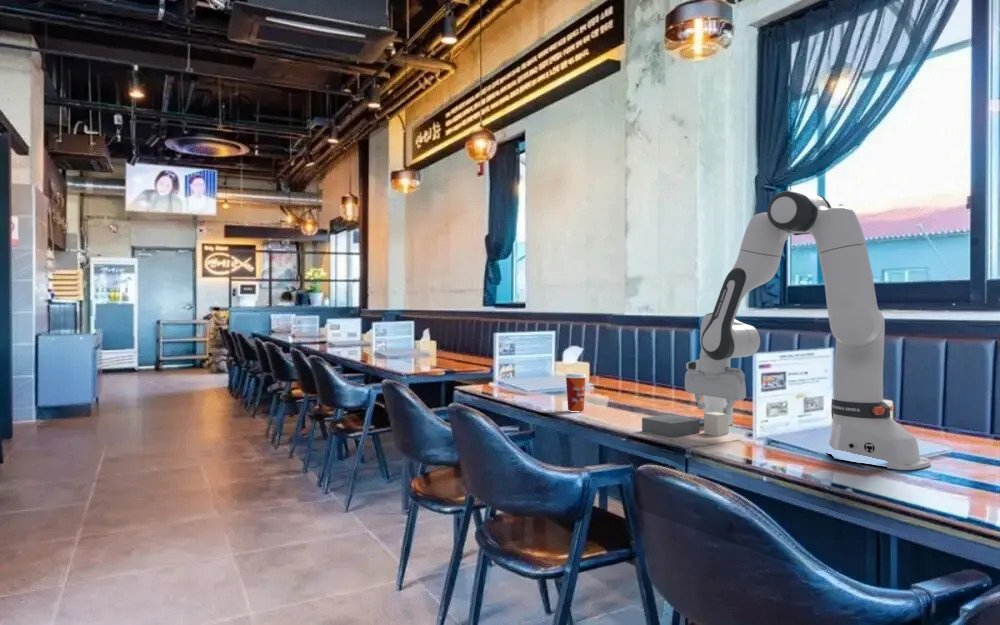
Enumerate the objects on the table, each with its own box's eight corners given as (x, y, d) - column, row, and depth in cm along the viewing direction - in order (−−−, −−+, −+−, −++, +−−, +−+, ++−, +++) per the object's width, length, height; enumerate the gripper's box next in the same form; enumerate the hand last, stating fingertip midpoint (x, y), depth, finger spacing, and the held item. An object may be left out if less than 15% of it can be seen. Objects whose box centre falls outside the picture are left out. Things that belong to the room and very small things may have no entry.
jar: (719, 427, 206) (719, 389, 206) (699, 423, 213) (699, 386, 213) (737, 424, 211) (737, 387, 211) (716, 421, 218) (716, 385, 218)
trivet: (699, 432, 197) (699, 419, 197) (671, 437, 191) (671, 423, 190) (669, 426, 207) (669, 414, 207) (642, 430, 201) (642, 417, 201)
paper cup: (576, 413, 234) (576, 374, 234) (561, 411, 240) (560, 373, 239) (591, 411, 239) (590, 373, 239) (575, 409, 245) (575, 371, 245)
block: (728, 433, 196) (728, 413, 196) (717, 435, 193) (717, 415, 193) (715, 431, 200) (715, 411, 200) (704, 433, 197) (704, 413, 197)
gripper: (751, 368, 189) (750, 415, 190) (695, 362, 207) (694, 405, 207) (737, 369, 186) (736, 417, 186) (681, 363, 203) (680, 407, 203)
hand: (713, 411), depth 197 cm, fingers open, 8 cm apart
